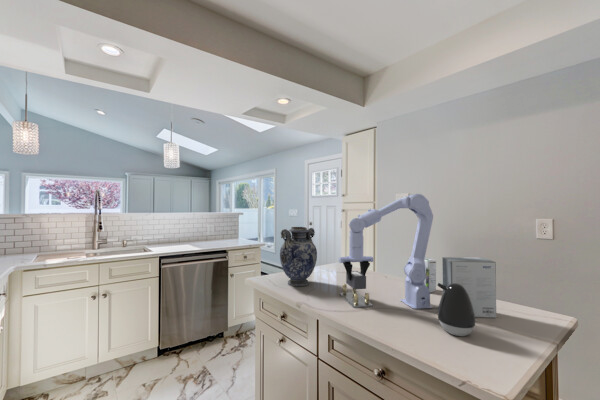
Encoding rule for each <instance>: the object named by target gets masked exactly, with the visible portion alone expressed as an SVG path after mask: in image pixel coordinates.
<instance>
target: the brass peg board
mask: <svg viewBox="0 0 600 400" xmlns="http://www.w3.org/2000/svg"><path fill="white" fill-rule="evenodd" d="M347 285H348V284H347V283H346V284H345V283H342V292H339V296H341V297H342V298H343V299H344V300H345V301H346V302H347V303H348V304H349V305H350V306H351V307H352V308H353V309H359V308H370V307H371V308H372V307H374V305H373V304H372V303H371V302H370V293H368V292H365V293H364V296H362V295H361V294H360V293H359V292H357V289H353V288H352V291H350V292H349V291H348V292H347Z"/></svg>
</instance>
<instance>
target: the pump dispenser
mask: <svg viewBox="0 0 600 400" xmlns="http://www.w3.org/2000/svg"><path fill="white" fill-rule="evenodd" d="M437 286H438V287H439V288H440V289H442V291H443V290H445V291H444V293H443V292H442V295H441V297H440V301H439V305H438V311H437V318H438V320H439V324H440V326H441V328H443V330H444V331H446V332H447V333H448V334H450V335H452V336H457V337H465V336H469V335H470V334H471V333H472V332H473V331H474V328H475V327H476V317H475V315H474V309H473V306H472V303H471V300H470V297H469V295H468V293H467V291H466V290H465V288H464V287H463V286H462V285H460V284H457V283H453V284H450V285H448V286H447V287H446V286H444V285H443V283H440V282H438V283H437Z"/></svg>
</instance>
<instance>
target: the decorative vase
mask: <svg viewBox="0 0 600 400" xmlns="http://www.w3.org/2000/svg"><path fill="white" fill-rule="evenodd" d="M314 236H315V229H314V227H313V228H312V227H310V228H307V227H304V226H292V227H291V229H289V230H288V229H287V228H284V229H282V230H281V231H280V238H281V239H283V241H284V242H283V244H281V247H280V250H279V259H280V260H279V261H280V264H281V268H282V270H283V272H284V274H285V275H286V276H287V277H288V279H289V280H287V285H288V286H291V287H305V286H308V285H309V280H308V278H309V277H311V275H312V273H313V272H314V270H315V267H316V264H317V260H318V252H317V251H318V249H317V246H316V245H315V243H314V241H313V239H312V238H314Z"/></svg>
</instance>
